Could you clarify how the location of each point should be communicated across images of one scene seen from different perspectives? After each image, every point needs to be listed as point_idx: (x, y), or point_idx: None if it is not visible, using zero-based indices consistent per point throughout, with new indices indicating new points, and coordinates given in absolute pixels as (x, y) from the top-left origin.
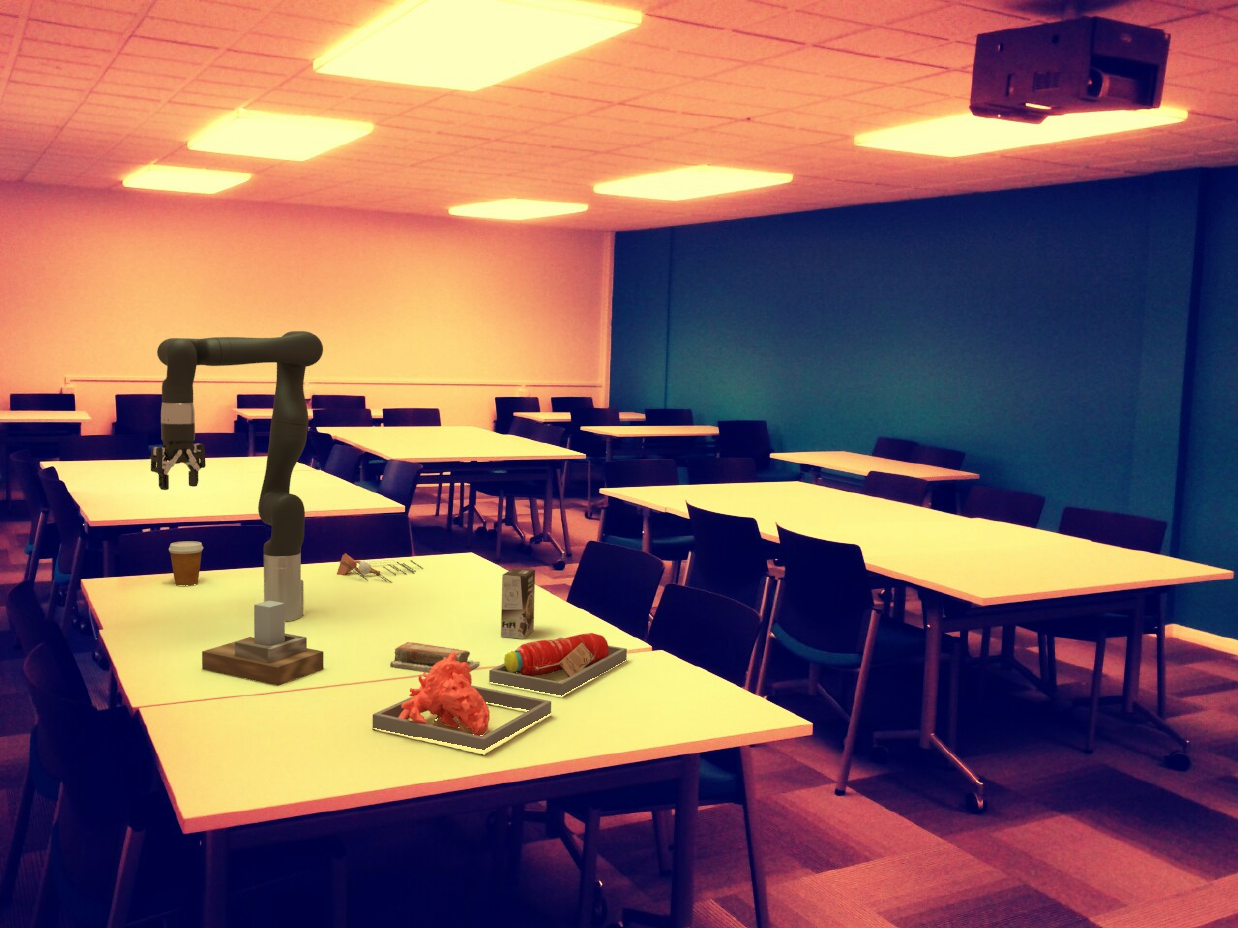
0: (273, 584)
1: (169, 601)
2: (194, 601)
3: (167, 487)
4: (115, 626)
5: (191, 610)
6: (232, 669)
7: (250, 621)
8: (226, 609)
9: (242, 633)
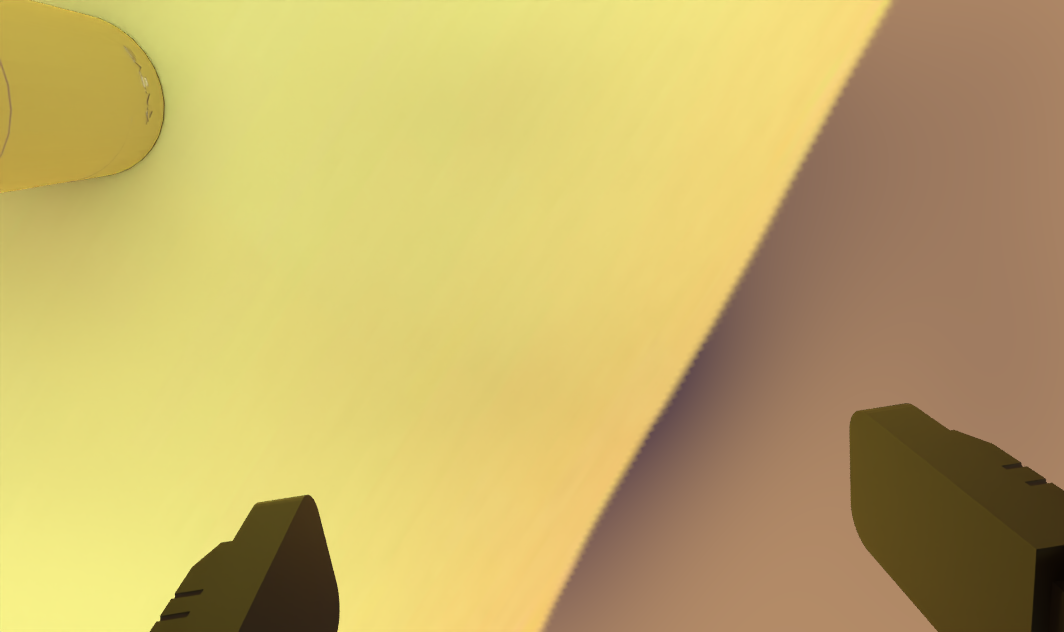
0: (54, 49)
1: None
2: None
3: (902, 411)
4: (611, 451)
5: (303, 462)
6: None
7: (222, 152)
8: (194, 385)
9: (351, 9)
